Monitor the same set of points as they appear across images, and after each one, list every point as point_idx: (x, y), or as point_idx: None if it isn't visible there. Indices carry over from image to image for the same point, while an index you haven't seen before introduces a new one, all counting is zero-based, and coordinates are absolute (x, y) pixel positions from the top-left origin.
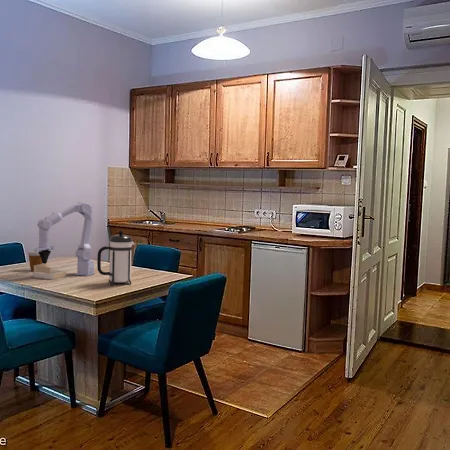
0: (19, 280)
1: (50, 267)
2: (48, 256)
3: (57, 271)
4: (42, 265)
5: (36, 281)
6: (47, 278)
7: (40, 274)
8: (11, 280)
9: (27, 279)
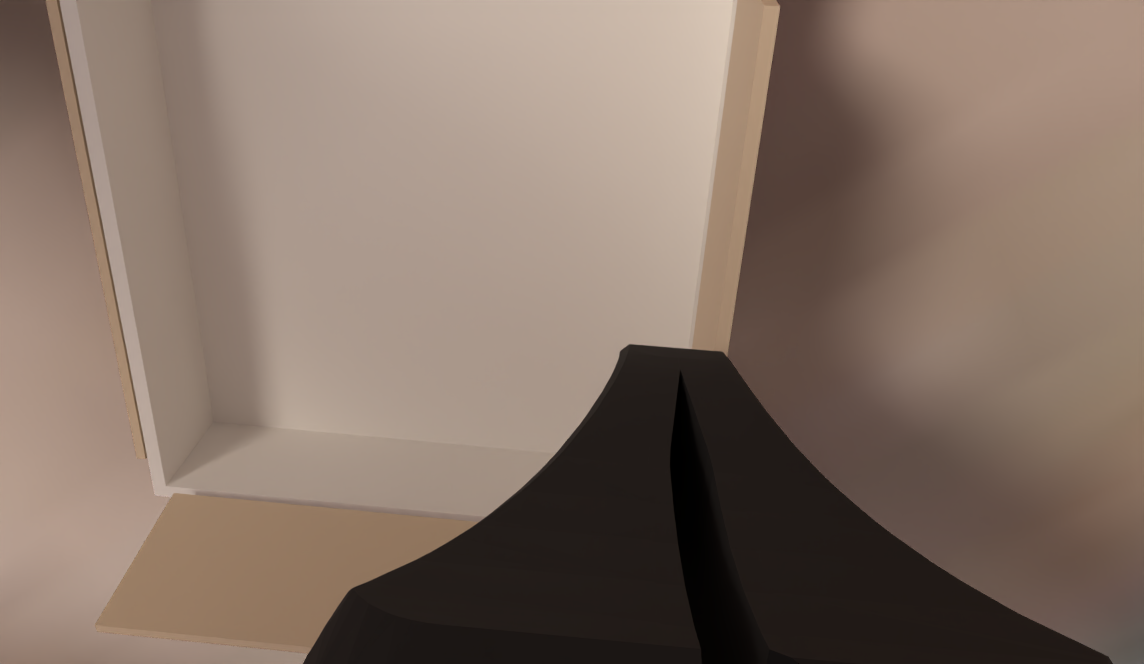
0: (1101, 516)
1: (774, 6)
2: (540, 480)
3: (119, 146)
4: (289, 598)
5: (1141, 118)
6: None
7: None
8: (1138, 634)
9: (941, 441)
